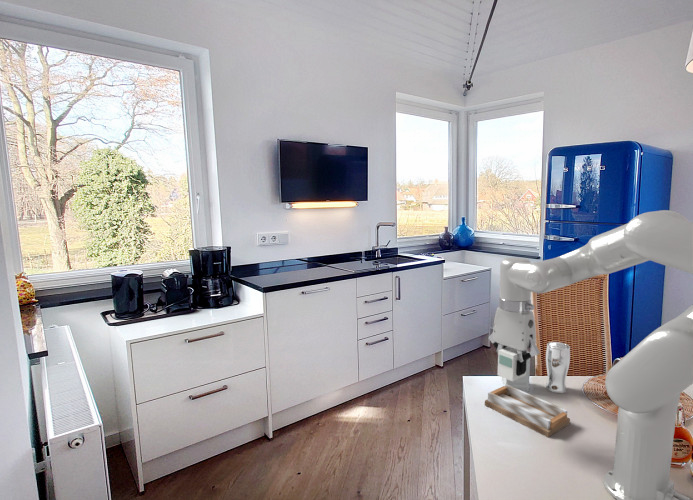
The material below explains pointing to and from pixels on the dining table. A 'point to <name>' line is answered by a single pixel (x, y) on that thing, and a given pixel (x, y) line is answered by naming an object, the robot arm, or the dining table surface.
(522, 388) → the supplement box
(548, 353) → the beer glass
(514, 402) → the rail board
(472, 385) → the dining table surface
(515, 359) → the block
